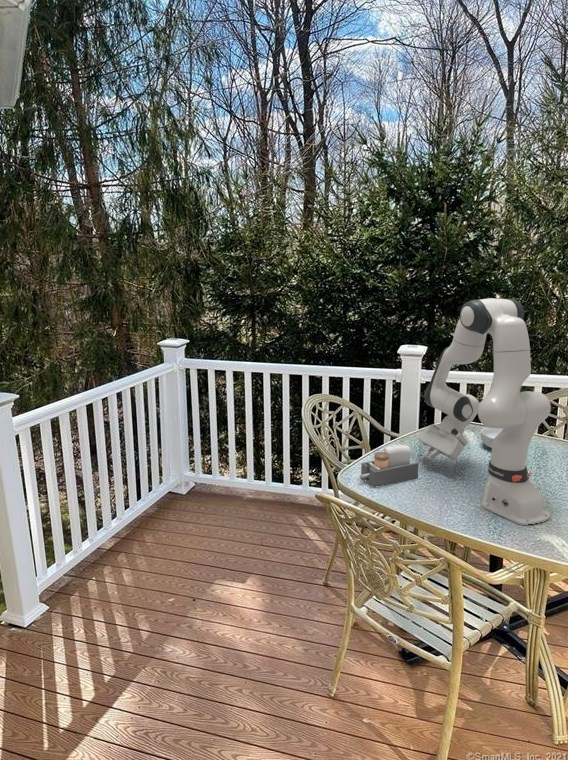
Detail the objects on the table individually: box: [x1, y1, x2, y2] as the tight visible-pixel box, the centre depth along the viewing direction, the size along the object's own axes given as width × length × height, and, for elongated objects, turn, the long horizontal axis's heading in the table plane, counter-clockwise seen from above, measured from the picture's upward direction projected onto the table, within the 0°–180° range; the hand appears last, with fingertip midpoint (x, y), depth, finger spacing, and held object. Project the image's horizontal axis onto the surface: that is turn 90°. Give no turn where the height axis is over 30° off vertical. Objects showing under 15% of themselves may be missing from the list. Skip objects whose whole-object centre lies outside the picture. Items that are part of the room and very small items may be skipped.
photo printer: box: [383, 444, 411, 468], centre depth 203 cm, size 10×4×12 cm, turn 101°
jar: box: [373, 451, 389, 470], centre depth 200 cm, size 5×5×10 cm
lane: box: [360, 460, 420, 488], centre depth 202 cm, size 9×20×6 cm, turn 114°
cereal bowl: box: [480, 426, 503, 449], centre depth 230 cm, size 17×17×7 cm
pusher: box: [359, 462, 380, 479], centre depth 198 cm, size 6×6×6 cm
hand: (427, 458), depth 208 cm, fingers closed
